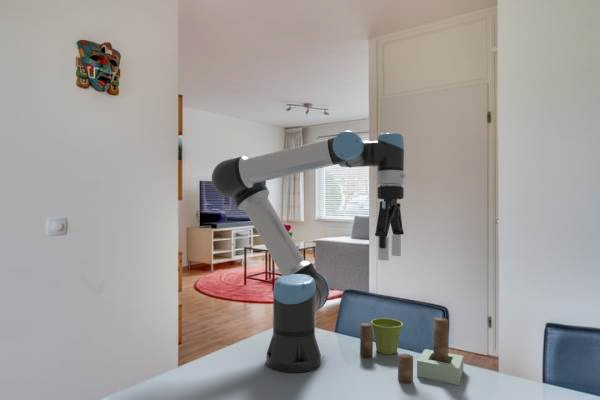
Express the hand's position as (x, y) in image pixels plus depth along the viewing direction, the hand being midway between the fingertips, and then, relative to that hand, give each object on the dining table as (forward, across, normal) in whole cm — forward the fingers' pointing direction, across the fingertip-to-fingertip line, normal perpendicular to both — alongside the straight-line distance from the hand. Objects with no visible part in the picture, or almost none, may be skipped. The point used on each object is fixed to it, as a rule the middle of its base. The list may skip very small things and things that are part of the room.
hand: (390, 257), depth 114 cm
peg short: (+29, -14, -8) cm, 33 cm away
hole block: (+29, -5, -15) cm, 33 cm away
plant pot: (+29, +4, +2) cm, 29 cm away
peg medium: (+29, -3, +6) cm, 29 cm away
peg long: (+29, -5, -15) cm, 33 cm away
